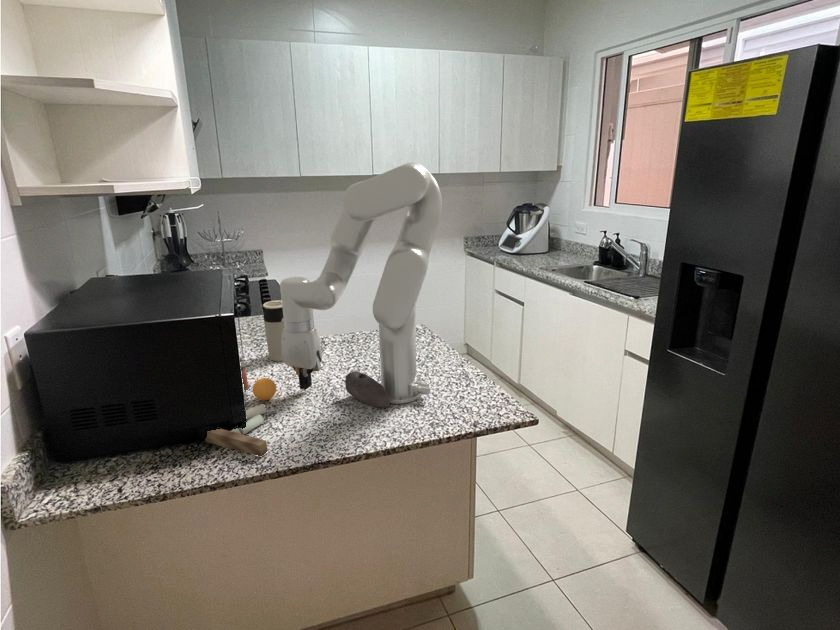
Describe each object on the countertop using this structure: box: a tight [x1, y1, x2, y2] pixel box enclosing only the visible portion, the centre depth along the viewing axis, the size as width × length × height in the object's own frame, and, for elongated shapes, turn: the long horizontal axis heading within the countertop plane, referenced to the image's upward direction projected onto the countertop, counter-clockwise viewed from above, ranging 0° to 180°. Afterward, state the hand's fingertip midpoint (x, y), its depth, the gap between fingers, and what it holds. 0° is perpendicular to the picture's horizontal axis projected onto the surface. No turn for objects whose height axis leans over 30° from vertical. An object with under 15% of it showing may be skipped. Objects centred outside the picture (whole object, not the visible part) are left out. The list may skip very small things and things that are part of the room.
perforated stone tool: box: [344, 370, 391, 409], centre depth 126 cm, size 15×5×7 cm, turn 46°
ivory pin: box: [245, 403, 267, 421], centre depth 120 cm, size 2×2×8 cm
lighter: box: [239, 356, 250, 392], centre depth 135 cm, size 8×3×10 cm, turn 62°
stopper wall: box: [204, 428, 269, 456], centre depth 109 cm, size 18×2×3 cm, turn 66°
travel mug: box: [262, 299, 285, 362], centre depth 153 cm, size 8×8×18 cm
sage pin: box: [230, 414, 264, 435], centre depth 115 cm, size 2×2×8 cm
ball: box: [252, 377, 277, 402], centre depth 129 cm, size 6×6×6 cm
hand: (306, 387), depth 133 cm, fingers closed
